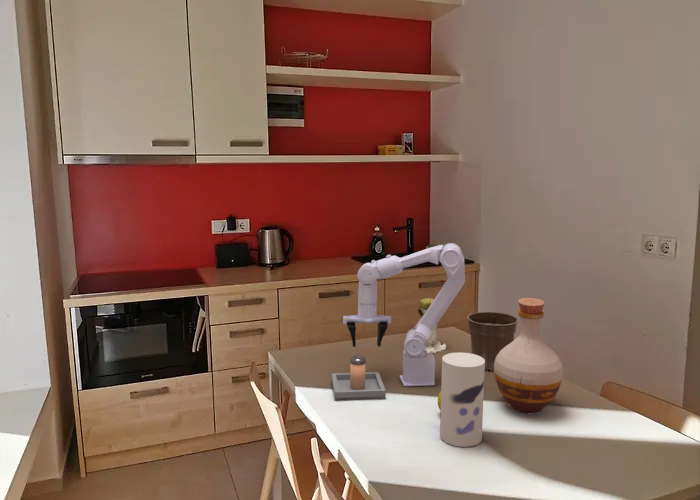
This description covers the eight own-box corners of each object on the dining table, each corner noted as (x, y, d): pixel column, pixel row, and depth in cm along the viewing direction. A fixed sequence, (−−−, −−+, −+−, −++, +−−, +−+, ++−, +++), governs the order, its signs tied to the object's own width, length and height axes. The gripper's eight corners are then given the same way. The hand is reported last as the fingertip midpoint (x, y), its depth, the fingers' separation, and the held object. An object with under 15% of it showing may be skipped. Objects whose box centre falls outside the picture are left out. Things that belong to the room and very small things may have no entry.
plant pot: (460, 369, 183) (462, 321, 180) (470, 354, 197) (472, 309, 195) (512, 377, 176) (515, 327, 174) (518, 360, 191) (521, 314, 189)
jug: (495, 388, 167) (500, 289, 163) (560, 396, 161) (566, 294, 157) (489, 416, 149) (493, 305, 144) (561, 426, 143) (568, 311, 139)
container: (457, 451, 131) (459, 368, 128) (431, 433, 140) (433, 355, 136) (490, 441, 135) (493, 361, 132) (463, 424, 144) (466, 349, 141)
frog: (403, 348, 203) (404, 299, 200) (425, 341, 212) (426, 293, 209) (429, 356, 195) (430, 305, 192) (450, 348, 204) (452, 298, 201)
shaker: (364, 384, 168) (364, 355, 167) (366, 390, 164) (367, 360, 162) (348, 384, 168) (349, 355, 166) (350, 390, 163) (351, 360, 162)
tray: (378, 379, 174) (378, 372, 173) (385, 399, 160) (385, 390, 159) (331, 381, 172) (331, 373, 172) (334, 400, 158) (334, 392, 158)
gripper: (344, 306, 167) (344, 350, 169) (393, 305, 168) (391, 349, 170) (342, 300, 174) (342, 342, 176) (389, 300, 175) (388, 342, 177)
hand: (366, 345), depth 174 cm, fingers open, 7 cm apart
